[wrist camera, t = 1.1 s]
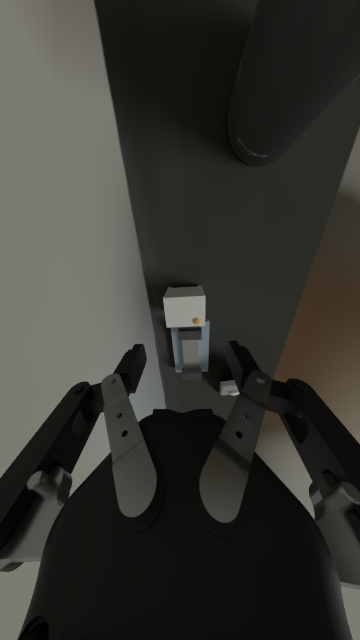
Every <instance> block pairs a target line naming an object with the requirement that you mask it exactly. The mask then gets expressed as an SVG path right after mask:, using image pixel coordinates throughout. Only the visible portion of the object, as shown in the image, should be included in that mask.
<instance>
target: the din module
mask: <svg viewBox="0 0 360 640" xmlns="http://www.w3.org/2000/svg"><path fill="white" fill-rule="evenodd" d="M163 303H164V311H165V318H166V326H167V328H169V327H193V326H205V294H204V291H203V289H202V287H201V285H198V286H196V287H180V288H172V287H168V289H167V291H166V293H165V295H164V297H163Z"/></svg>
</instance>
